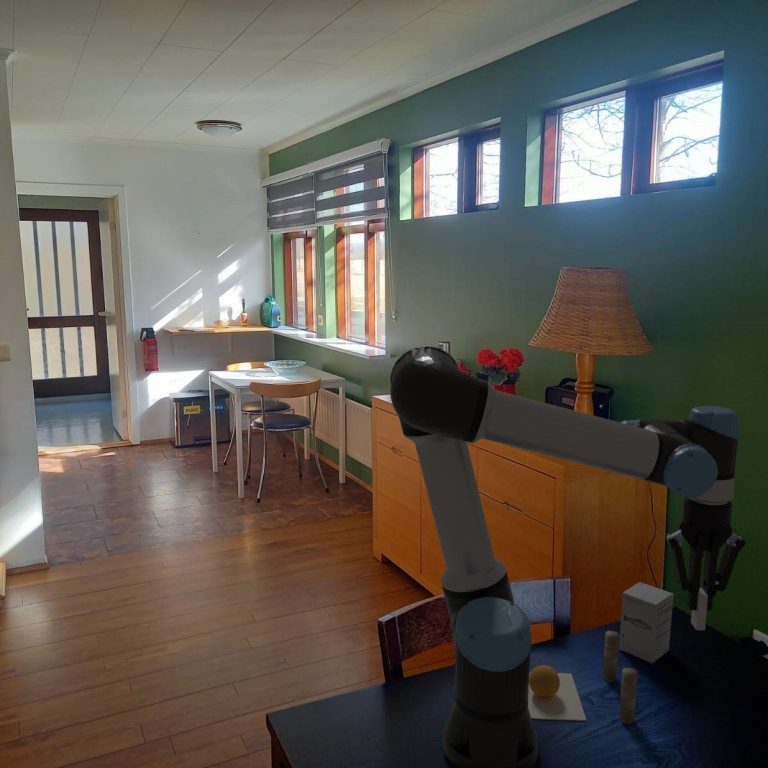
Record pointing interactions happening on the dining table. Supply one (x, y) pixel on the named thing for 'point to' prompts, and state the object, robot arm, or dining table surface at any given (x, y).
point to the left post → (611, 656)
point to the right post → (628, 695)
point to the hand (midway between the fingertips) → (697, 626)
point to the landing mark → (557, 702)
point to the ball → (544, 681)
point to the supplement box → (646, 621)
